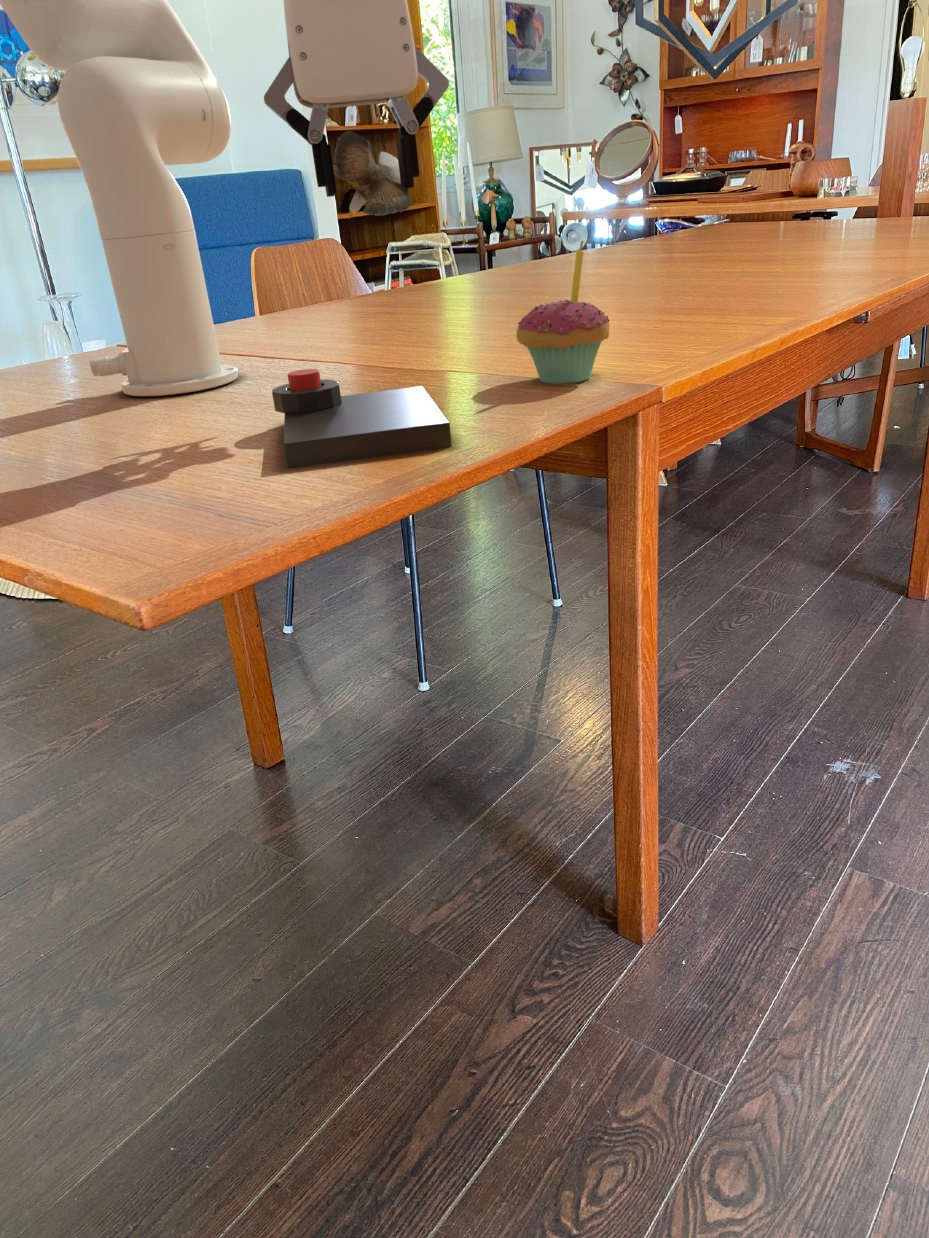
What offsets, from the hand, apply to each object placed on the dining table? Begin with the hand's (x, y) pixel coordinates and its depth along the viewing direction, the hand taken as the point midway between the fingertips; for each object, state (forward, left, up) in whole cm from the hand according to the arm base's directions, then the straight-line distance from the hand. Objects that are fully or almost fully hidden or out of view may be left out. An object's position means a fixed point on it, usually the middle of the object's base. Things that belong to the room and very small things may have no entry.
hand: (369, 190), depth 78 cm
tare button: (-8, -9, -15) cm, 19 cm away
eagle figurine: (0, 0, -2) cm, 2 cm away
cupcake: (+16, -2, -18) cm, 24 cm away
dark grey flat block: (-4, -14, -18) cm, 23 cm away
